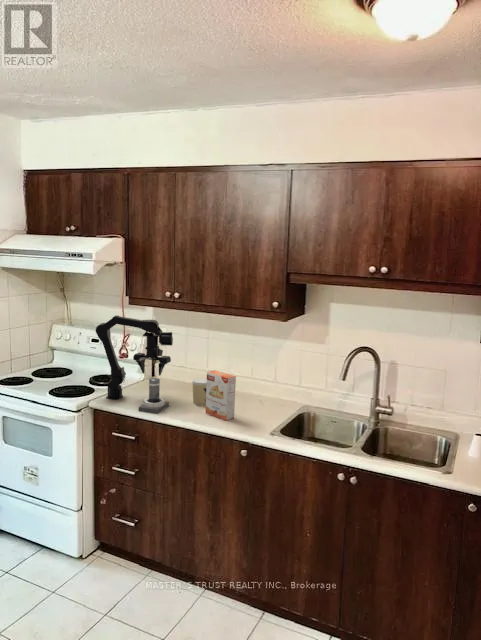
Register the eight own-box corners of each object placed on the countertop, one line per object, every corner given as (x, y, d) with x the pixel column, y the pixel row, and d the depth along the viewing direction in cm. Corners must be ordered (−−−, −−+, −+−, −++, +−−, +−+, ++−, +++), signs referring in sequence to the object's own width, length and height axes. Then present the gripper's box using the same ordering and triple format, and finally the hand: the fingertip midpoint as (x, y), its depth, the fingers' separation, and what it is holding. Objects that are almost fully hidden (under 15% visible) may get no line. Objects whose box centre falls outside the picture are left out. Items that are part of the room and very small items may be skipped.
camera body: (138, 411, 250) (138, 403, 249) (150, 403, 262) (150, 395, 261) (157, 413, 247) (157, 405, 246) (168, 405, 259) (169, 398, 258)
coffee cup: (207, 407, 260) (208, 383, 258) (189, 405, 262) (190, 382, 260) (211, 401, 269) (212, 379, 267) (194, 399, 271) (195, 377, 269)
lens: (146, 404, 254) (146, 379, 252) (155, 401, 258) (155, 377, 255) (152, 406, 250) (153, 381, 248) (161, 404, 254) (162, 379, 252)
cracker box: (204, 413, 250) (206, 371, 247) (213, 410, 255) (215, 369, 251) (225, 421, 241) (227, 377, 238) (234, 418, 246) (236, 375, 242)
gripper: (175, 343, 269) (174, 372, 272) (143, 340, 274) (142, 368, 277) (166, 347, 259) (165, 378, 261) (132, 344, 264) (132, 373, 266)
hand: (151, 374), depth 267 cm, fingers open, 9 cm apart
